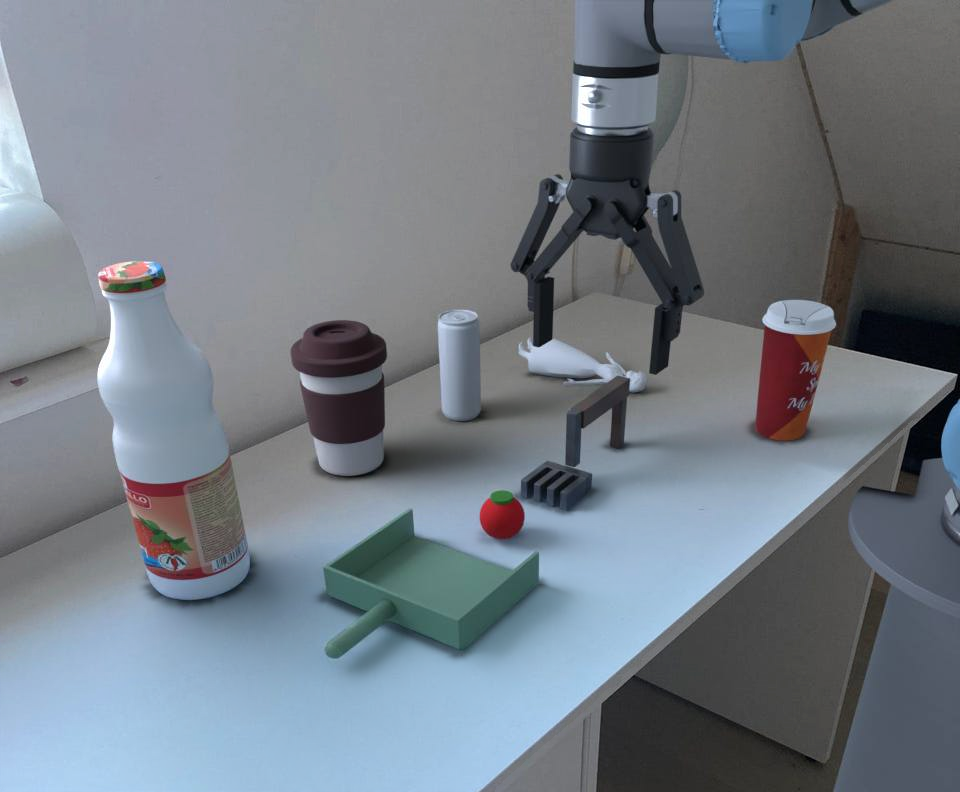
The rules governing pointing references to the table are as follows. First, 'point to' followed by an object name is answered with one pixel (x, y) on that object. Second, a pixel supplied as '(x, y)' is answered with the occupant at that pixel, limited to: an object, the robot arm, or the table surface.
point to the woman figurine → (576, 365)
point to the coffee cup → (343, 394)
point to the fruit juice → (169, 441)
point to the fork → (579, 447)
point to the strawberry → (502, 515)
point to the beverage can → (460, 364)
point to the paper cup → (791, 366)
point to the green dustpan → (421, 587)
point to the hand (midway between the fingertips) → (598, 356)
